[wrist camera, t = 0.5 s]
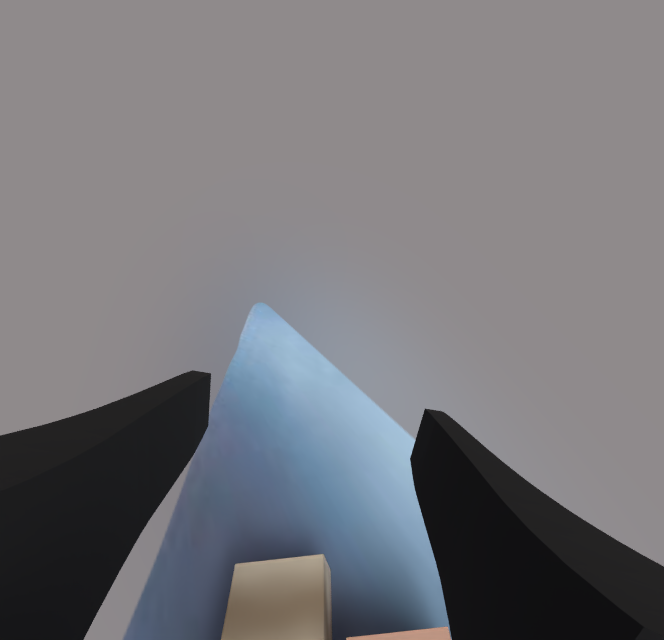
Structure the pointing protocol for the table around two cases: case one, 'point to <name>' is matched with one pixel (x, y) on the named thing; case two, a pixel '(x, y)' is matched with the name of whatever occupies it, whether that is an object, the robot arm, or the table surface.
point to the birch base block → (280, 600)
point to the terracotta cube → (409, 635)
